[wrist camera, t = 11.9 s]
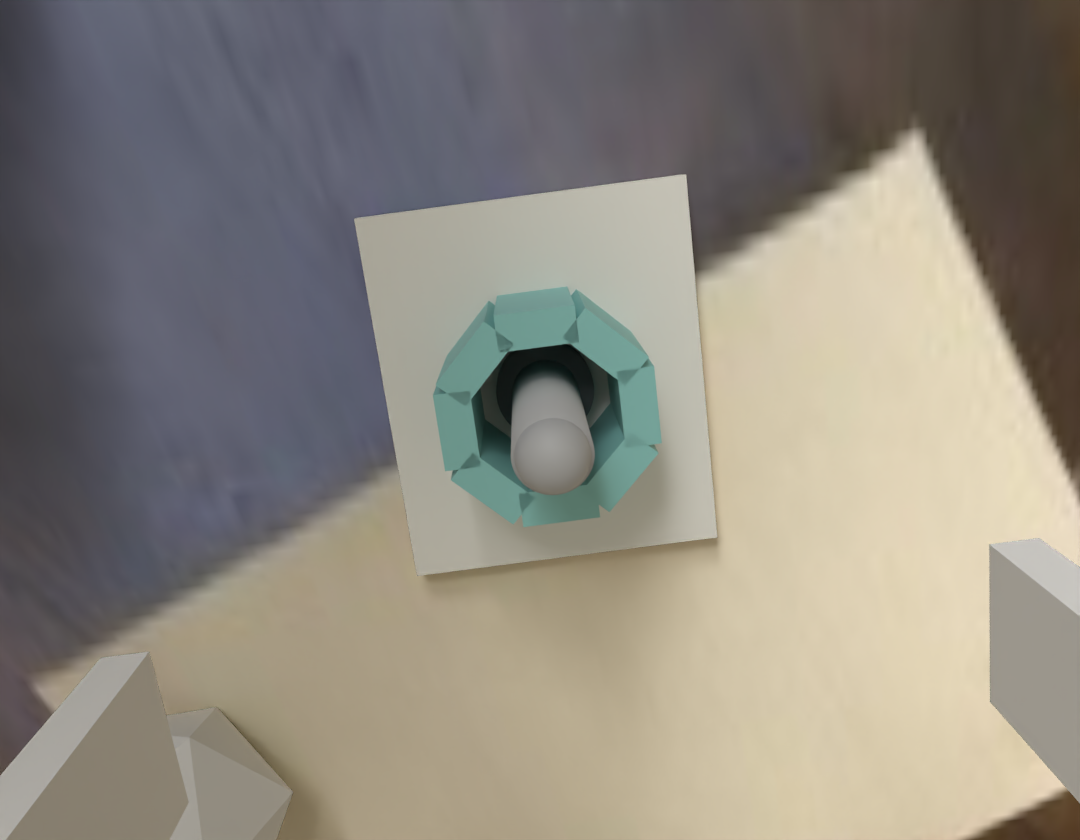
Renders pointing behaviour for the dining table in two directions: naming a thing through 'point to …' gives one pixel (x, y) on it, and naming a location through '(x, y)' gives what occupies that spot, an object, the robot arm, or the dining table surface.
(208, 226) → the dining table surface
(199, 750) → the die
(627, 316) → the post stand
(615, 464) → the teal ring
